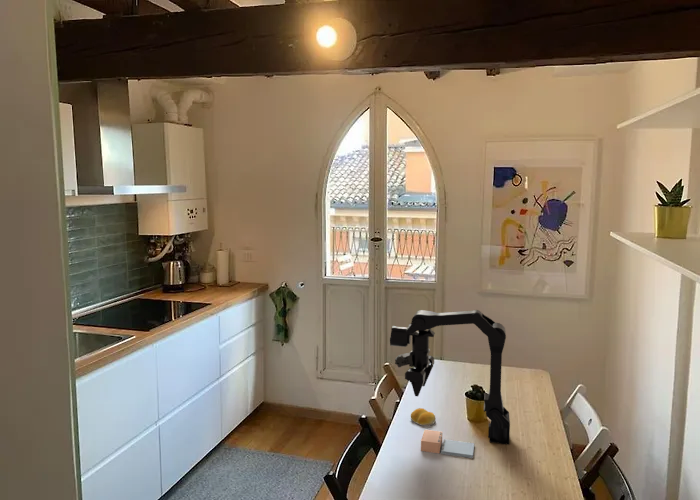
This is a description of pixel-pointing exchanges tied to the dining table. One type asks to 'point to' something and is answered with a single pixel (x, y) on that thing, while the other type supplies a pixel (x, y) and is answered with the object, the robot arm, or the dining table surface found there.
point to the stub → (431, 441)
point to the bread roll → (423, 417)
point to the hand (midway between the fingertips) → (419, 391)
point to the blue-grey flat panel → (457, 448)
